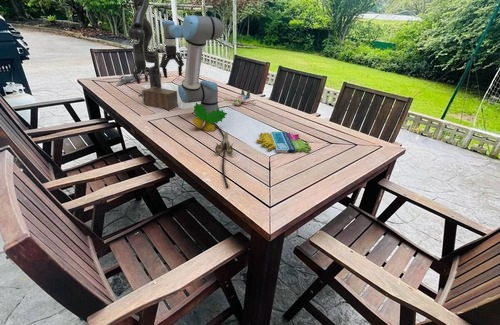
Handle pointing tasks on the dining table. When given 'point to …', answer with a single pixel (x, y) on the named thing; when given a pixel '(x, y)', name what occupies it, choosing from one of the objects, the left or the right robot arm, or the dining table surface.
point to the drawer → (143, 96)
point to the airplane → (127, 79)
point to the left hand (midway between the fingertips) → (142, 82)
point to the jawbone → (224, 145)
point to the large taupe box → (161, 98)
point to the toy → (241, 99)
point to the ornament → (207, 117)
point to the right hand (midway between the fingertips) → (173, 76)
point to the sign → (283, 142)
